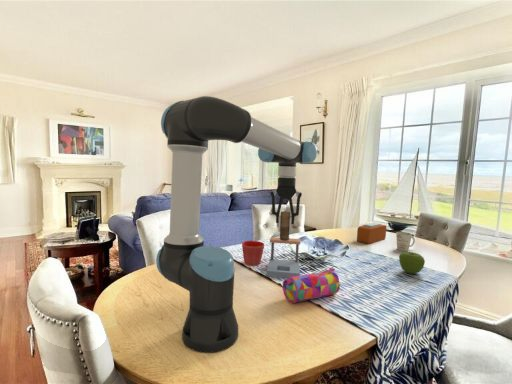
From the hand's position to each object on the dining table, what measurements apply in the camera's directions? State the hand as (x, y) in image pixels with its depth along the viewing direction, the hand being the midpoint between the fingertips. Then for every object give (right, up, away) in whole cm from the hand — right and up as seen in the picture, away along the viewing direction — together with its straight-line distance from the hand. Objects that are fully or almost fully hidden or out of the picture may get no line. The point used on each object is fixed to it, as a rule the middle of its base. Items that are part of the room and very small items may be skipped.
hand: (284, 231), depth 121 cm
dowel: (0, -4, 0) cm, 4 cm away
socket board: (0, -19, +6) cm, 20 cm away
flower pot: (-14, -18, +15) cm, 27 cm away
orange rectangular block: (+66, -16, +68) cm, 96 cm away
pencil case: (+8, -22, -19) cm, 30 cm away
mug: (+78, -18, +49) cm, 94 cm away
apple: (+60, -21, +9) cm, 64 cm away
